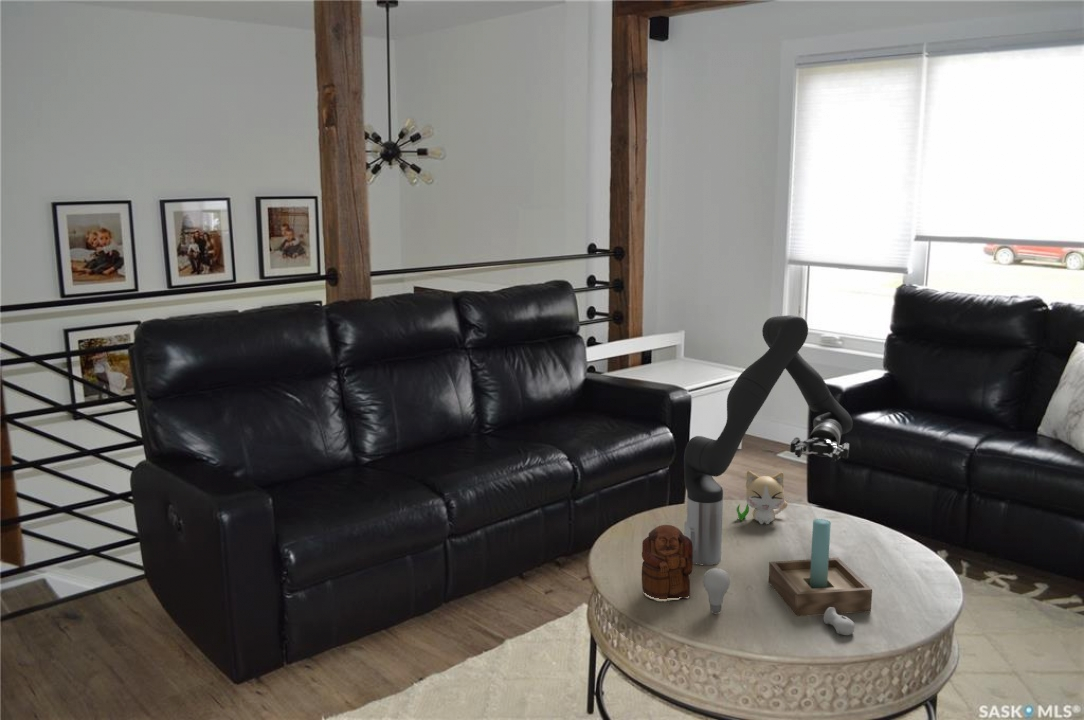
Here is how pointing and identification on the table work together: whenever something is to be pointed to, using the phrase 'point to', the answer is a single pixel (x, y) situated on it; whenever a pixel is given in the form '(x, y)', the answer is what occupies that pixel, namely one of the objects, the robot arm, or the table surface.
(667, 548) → the wooden figurine
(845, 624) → the pale two-lobed sculpture
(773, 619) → the table surface
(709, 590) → the lightbulb
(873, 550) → the table surface
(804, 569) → the box
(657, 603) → the table surface
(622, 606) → the table surface
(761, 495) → the kitten
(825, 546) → the peg
